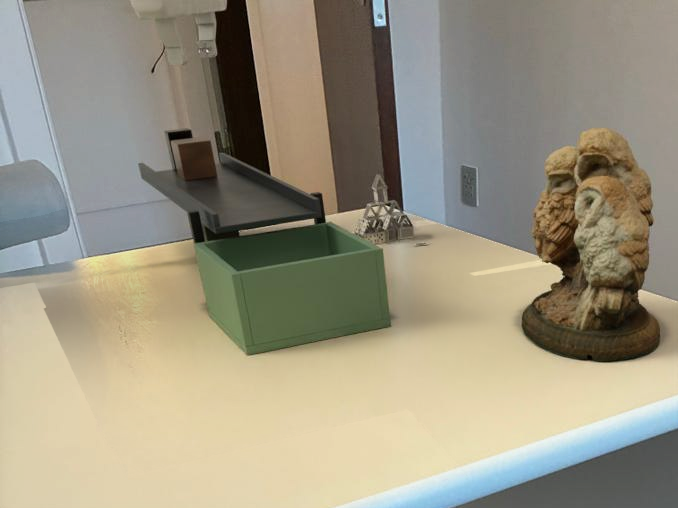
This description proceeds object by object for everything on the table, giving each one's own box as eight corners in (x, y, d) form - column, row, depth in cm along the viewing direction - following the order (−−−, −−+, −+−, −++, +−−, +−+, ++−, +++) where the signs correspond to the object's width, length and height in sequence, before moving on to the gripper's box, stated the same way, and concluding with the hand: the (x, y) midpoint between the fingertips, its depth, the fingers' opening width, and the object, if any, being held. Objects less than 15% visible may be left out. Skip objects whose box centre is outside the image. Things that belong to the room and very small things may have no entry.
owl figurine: (493, 315, 95) (485, 123, 85) (599, 298, 98) (603, 110, 88) (570, 371, 81) (572, 149, 71) (691, 349, 84) (709, 133, 75)
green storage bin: (247, 355, 89) (231, 274, 85) (209, 316, 100) (193, 243, 96) (391, 326, 94) (382, 248, 90) (340, 292, 105) (330, 221, 101)
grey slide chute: (215, 234, 94) (204, 177, 91) (141, 178, 122) (131, 134, 119) (322, 217, 97) (314, 162, 94) (225, 167, 126) (217, 124, 123)
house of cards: (365, 255, 118) (357, 188, 113) (341, 242, 124) (333, 177, 120) (431, 244, 121) (426, 178, 116) (404, 231, 127) (399, 168, 123)
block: (185, 181, 116) (177, 144, 113) (178, 176, 118) (170, 140, 116) (217, 176, 117) (210, 140, 115) (209, 172, 120) (202, 136, 118)
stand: (210, 314, 101) (189, 212, 95) (168, 271, 116) (147, 182, 110) (335, 291, 105) (322, 193, 100) (279, 253, 121) (264, 166, 115)
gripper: (176, -80, 115) (201, 54, 123) (99, -85, 98) (134, 70, 106) (226, -83, 114) (248, 52, 122) (156, -89, 97) (187, 68, 105)
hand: (194, 61), depth 114 cm, fingers open, 8 cm apart
